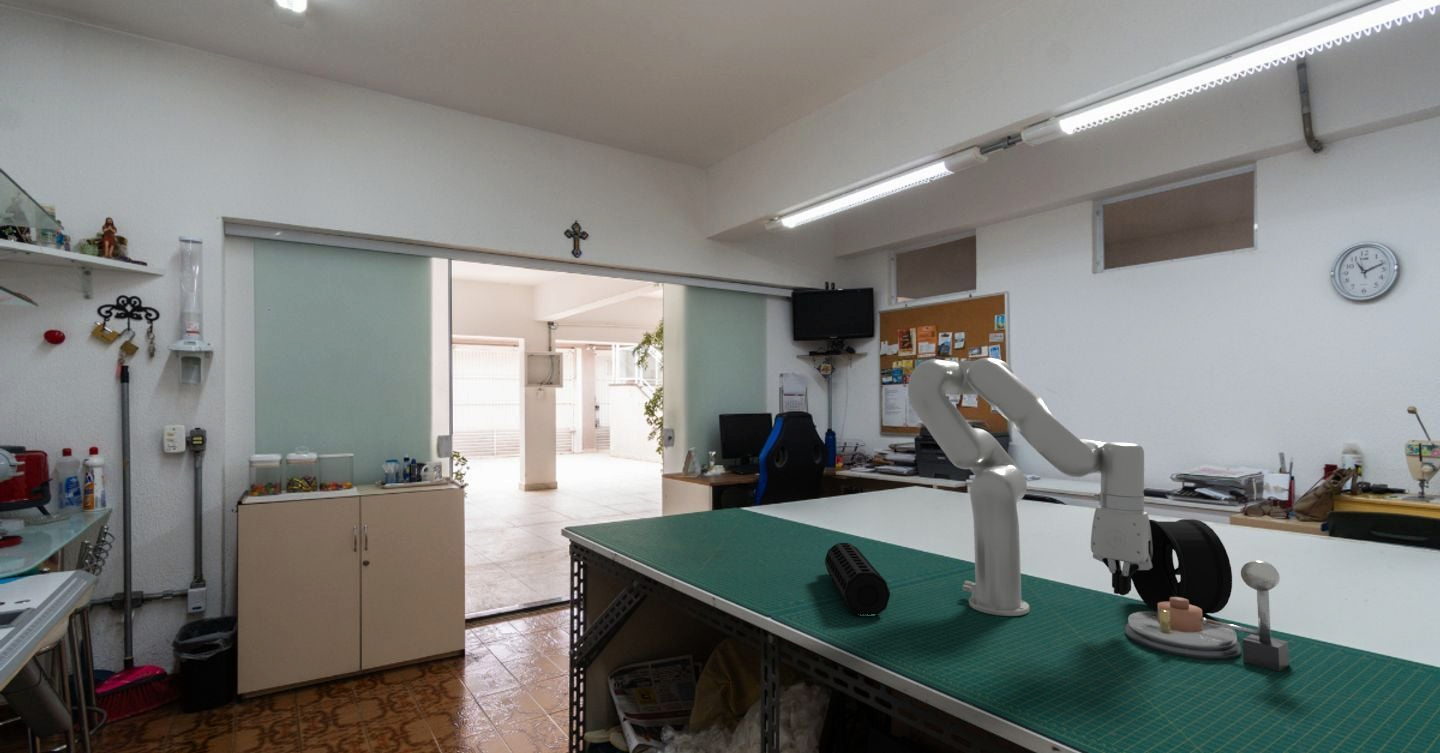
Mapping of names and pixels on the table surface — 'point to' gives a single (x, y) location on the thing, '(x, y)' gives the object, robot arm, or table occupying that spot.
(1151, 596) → the car wheel rim
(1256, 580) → the metal lever
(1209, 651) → the turntable base
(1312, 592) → the table surface
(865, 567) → the roller
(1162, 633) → the disc
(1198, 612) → the cover
